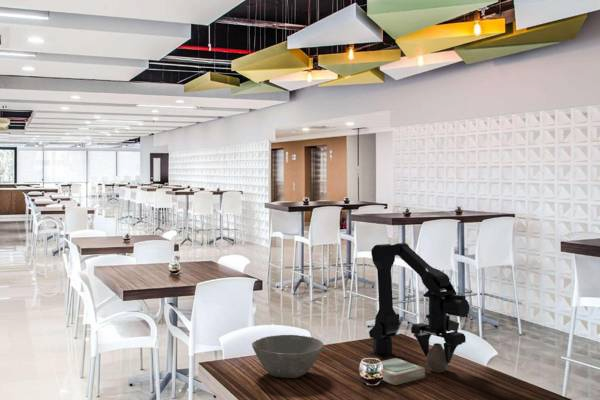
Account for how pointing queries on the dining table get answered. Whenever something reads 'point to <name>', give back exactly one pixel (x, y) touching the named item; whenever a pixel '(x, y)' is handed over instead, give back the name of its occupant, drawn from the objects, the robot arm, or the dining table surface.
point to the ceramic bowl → (287, 354)
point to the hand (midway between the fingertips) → (437, 359)
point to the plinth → (401, 371)
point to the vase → (437, 359)
